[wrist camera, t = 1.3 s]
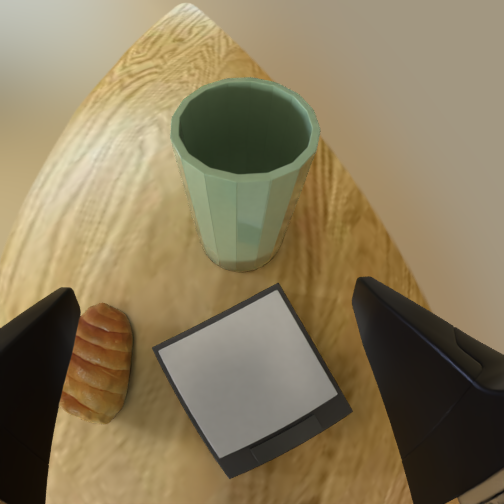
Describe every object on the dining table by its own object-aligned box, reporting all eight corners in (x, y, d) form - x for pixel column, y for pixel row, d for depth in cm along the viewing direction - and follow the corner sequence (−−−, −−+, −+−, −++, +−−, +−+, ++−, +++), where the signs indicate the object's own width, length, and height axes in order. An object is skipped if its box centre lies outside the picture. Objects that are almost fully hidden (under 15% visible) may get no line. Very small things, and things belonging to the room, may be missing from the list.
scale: (341, 406, 20) (357, 413, 17) (229, 467, 18) (229, 483, 15) (274, 290, 23) (279, 279, 20) (160, 348, 21) (148, 347, 18)
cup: (296, 248, 25) (348, 148, 12) (222, 286, 23) (208, 208, 11) (256, 185, 26) (270, 66, 14) (186, 217, 25) (152, 104, 13)
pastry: (87, 294, 22) (66, 283, 19) (155, 326, 22) (141, 320, 18) (55, 390, 19) (30, 393, 16) (119, 428, 19) (101, 440, 15)
